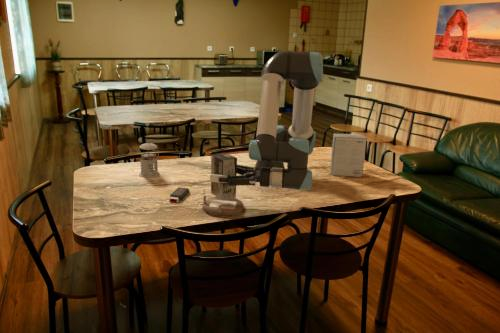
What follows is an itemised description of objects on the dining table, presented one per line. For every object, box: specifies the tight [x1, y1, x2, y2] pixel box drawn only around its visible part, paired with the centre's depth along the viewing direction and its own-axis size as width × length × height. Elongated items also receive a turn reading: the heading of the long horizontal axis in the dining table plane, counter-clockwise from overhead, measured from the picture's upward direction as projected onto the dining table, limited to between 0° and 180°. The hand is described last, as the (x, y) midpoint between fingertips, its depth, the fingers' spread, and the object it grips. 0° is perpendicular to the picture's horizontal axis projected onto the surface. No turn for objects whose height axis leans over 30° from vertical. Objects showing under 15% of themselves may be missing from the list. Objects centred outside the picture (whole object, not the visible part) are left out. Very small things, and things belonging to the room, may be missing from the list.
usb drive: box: [168, 186, 190, 204], centre depth 169 cm, size 5×12×3 cm, turn 169°
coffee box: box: [210, 152, 238, 201], centre depth 156 cm, size 9×6×16 cm
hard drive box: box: [329, 133, 368, 178], centre depth 202 cm, size 16×8×20 cm, turn 84°
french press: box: [138, 122, 161, 179], centre depth 190 cm, size 10×12×25 cm
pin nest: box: [202, 195, 244, 218], centre depth 159 cm, size 16×16×4 cm
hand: (213, 172), depth 156 cm, fingers closed on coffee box, 10 cm apart
